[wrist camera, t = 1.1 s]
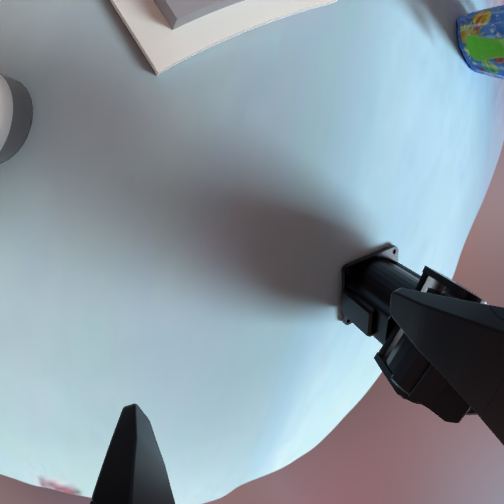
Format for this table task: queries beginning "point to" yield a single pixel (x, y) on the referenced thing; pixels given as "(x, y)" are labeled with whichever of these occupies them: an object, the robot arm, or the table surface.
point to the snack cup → (483, 40)
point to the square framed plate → (198, 23)
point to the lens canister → (13, 116)
